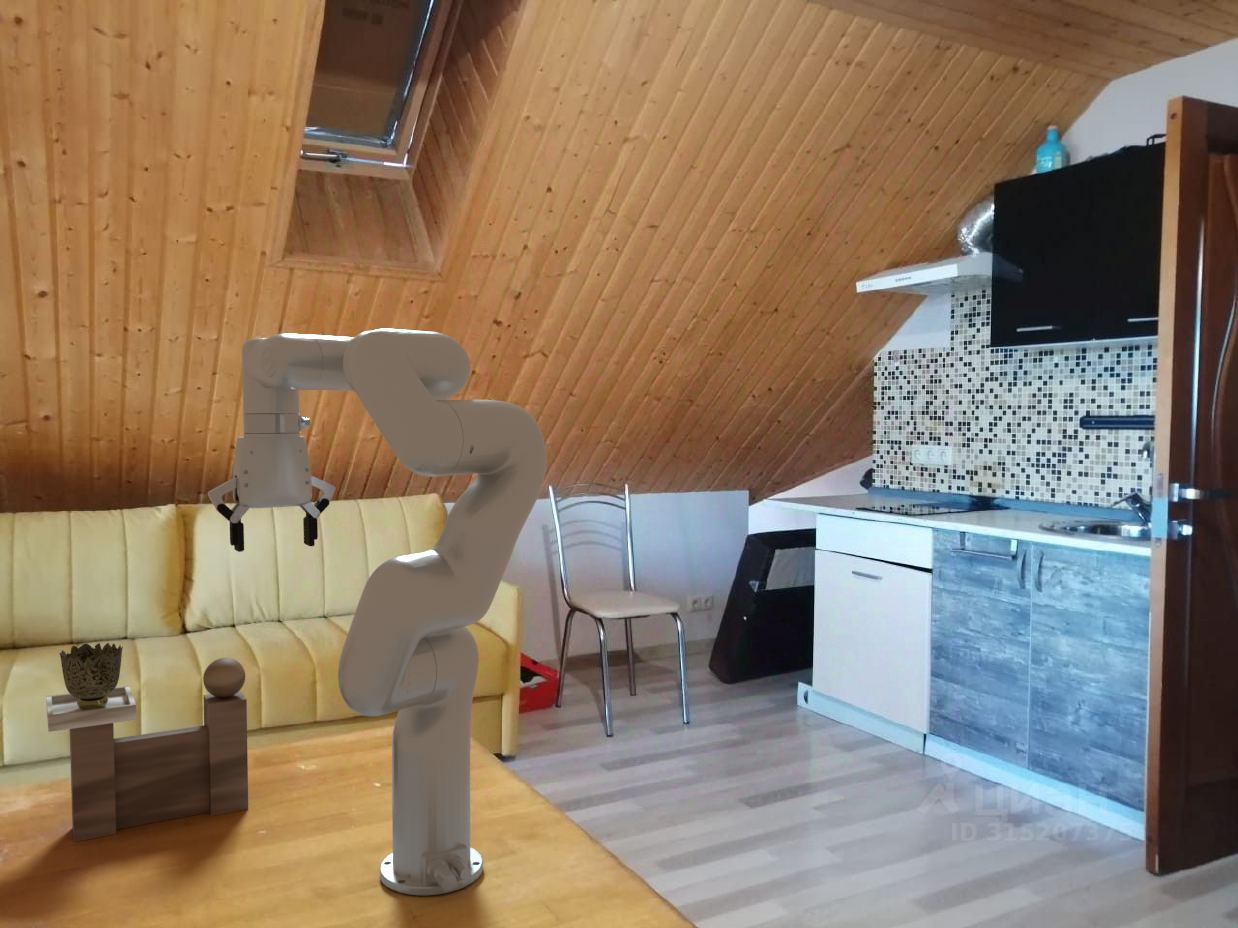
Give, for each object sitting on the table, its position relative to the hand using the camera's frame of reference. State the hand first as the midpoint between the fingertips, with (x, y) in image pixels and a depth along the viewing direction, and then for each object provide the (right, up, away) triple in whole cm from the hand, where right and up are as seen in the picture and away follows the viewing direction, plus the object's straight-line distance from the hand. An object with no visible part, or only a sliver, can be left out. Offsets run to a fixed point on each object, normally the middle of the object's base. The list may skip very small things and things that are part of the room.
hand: (274, 547), depth 144 cm
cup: (-22, -21, -7) cm, 31 cm away
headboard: (-16, -38, -2) cm, 41 cm away
